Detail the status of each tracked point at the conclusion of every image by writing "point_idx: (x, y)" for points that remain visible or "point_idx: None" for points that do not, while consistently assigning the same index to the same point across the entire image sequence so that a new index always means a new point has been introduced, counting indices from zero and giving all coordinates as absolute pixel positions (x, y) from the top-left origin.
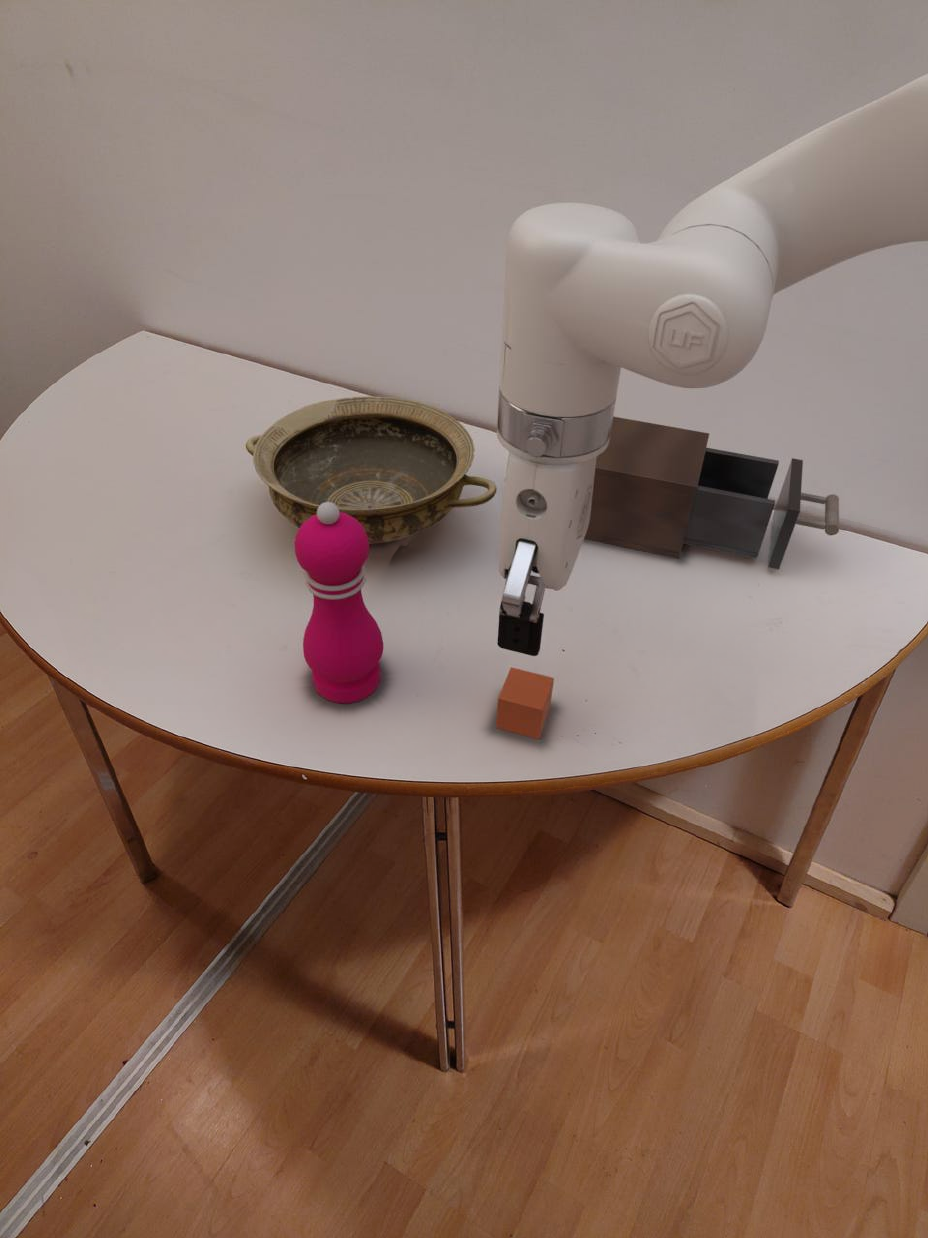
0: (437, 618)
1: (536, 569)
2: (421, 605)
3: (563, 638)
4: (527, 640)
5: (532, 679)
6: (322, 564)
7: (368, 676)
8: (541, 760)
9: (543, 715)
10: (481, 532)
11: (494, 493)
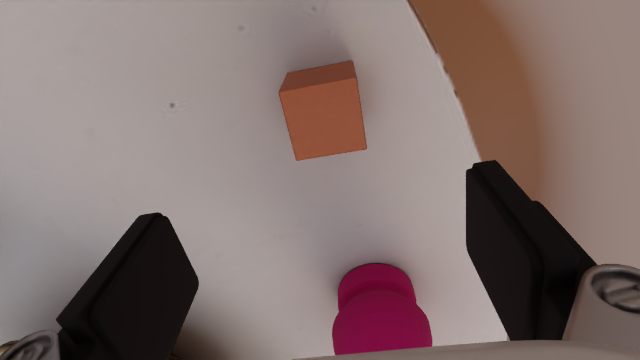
0: (233, 261)
1: (191, 282)
2: (227, 282)
3: (150, 115)
4: (549, 220)
5: (301, 121)
6: None
7: (382, 285)
8: (386, 39)
9: (341, 72)
10: (65, 285)
11: (11, 345)
